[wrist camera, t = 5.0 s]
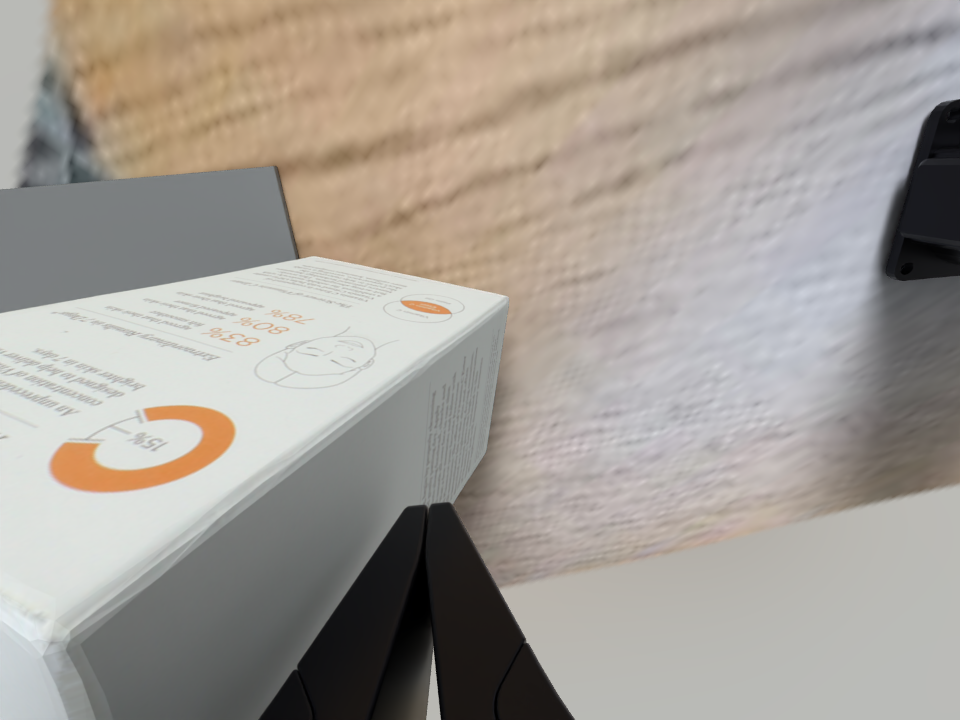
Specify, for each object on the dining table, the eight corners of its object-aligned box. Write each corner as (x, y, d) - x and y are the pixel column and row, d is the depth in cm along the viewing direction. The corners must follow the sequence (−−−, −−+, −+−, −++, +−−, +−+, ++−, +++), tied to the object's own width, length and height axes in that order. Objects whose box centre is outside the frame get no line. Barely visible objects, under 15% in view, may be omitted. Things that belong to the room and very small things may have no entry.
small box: (316, 399, 19) (-174, 693, 8) (313, 252, 17) (-397, 368, 6) (491, 455, 17) (159, 977, 6) (517, 294, 15) (28, 638, 3)
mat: (276, 166, 16) (273, 166, 16) (344, 446, 21) (342, 450, 21) (-123, 200, 16) (-134, 201, 15) (38, 476, 21) (33, 480, 20)
